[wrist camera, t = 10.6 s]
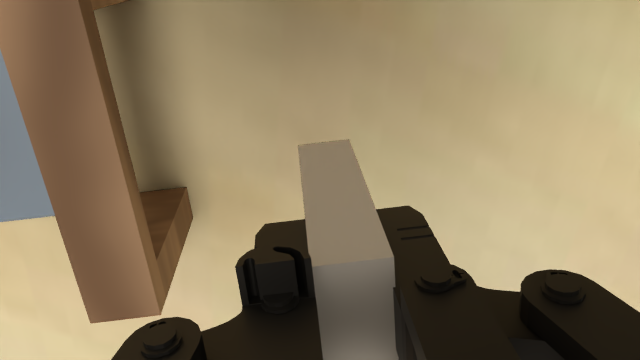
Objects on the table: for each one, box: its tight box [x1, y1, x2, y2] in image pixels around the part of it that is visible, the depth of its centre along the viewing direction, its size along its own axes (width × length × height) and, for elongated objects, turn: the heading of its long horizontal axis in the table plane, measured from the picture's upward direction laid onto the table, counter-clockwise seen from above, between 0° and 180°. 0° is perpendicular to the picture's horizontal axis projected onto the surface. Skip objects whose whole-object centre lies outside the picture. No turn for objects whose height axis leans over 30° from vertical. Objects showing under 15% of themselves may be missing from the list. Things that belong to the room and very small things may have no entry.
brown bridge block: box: [0, 0, 193, 323], centre depth 24 cm, size 3×14×9 cm, turn 6°
